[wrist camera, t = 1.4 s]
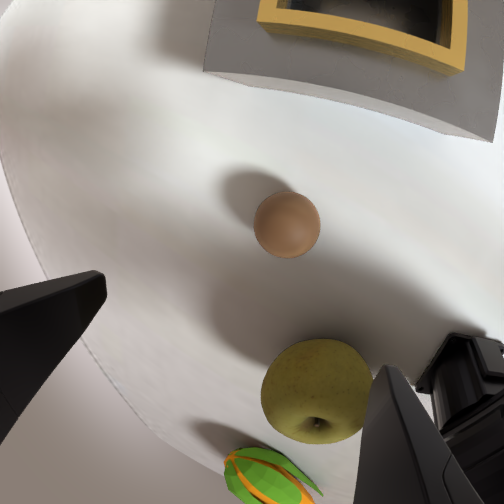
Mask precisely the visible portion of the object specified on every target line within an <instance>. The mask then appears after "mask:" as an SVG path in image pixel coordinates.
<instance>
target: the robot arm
mask: <svg viewBox="0 0 504 504" xmlns="http://www.w3.org/2000/svg"><path fill="white" fill-rule="evenodd" d="M106 298H107V288H106V279H105V276H104V274H103V273H101V272H98V271H96V270H92V271H87V272H83V273H78V274H74V275H69V276H65V277H61V278H56V279H52V280H48V281H44V282H39V283H35V284H31V285H26V286H23V287H18V288H14V289H10V290H5V291H4V292H3V291H1V292H0V445H1V443H2V442H3V440H4V439H5V437H6V436H7V434H8V433H9V431H10V430H11V428H12V427H13V425H14V424H15V423H16V421H17V420H18V417H20V415H21V414H22V412H23V411H24V409H25V408H26V407H27V405H28V404H29V403H30V401H31V400H32V398H33V397H34V396H35V394H36V393H37V392H38V390H39V389H40V388H41V386H42V385H43V383H44V382H45V381H46V380H47V378H48V377H49V376H50V374H51V373H52V372H53V370H54V369H55V368H56V367H57V365H58V364H59V363H60V362H61V360H62V359H63V358H64V357H65V355H66V354H67V352H68V351H69V350H70V349H71V348H72V346H73V345H74V344H75V343H76V342H77V340H78V339H79V338H80V337H81V335H82V334H83V333H84V331H85V330H86V329H87V327H88V326H89V324H90V323H91V321H92V320H93V318H94V317H95V315H96V314H97V312H98V311H99V309H100V308H101V306H102V305H103V304H104V302H105V301H106ZM452 339H454V340H452ZM503 354H504V344H502V343H498V342H496V341H494V340H489V339H485V338H480V337H471V336H466V335H462V334H458V333H451V334H449V335H448V336H447V338H446V339H445V341H444V343H443V344H442V346H441V348H440V349H439V351H438V353H437V354H436V356H435V357H434V359H433V360H432V362H431V363H430V365H429V366H428V368H427V369H426V371H425V372H424V374H423V375H422V377H421V378H420V380H419V381H418V382H417V384H416V385H415V390H416V392H418V393H423V394H430V396H431V402H432V409H433V416H434V423H433V421H432V419H431V418H430V416H429V415H428V413H427V411H426V410H425V408H424V407H423V405H422V403H421V402H420V400H419V399H418V397H417V396H416V394H415V392H414V391H413V389H412V388H411V386H410V385H409V383H408V382H407V380H406V379H405V377H404V376H403V374H402V373H401V371H400V370H399V368H398V367H397V366H393V365H389V364H385V365H383V366H382V368H381V369H380V371H379V373H378V374H377V376H376V377H375V379H374V381H373V382H372V384H371V387H370V392H369V398H368V404H367V409H366V415H365V420H364V425H363V430H362V437H361V447H360V457H359V466H358V474H357V481H356V488H355V495H354V502H353V504H504V358H503V356H502V355H503ZM420 387H421V388H420Z"/></svg>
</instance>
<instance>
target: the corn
mask: <svg viewBox="0 0 504 504" xmlns="http://www.w3.org/2000/svg"><path fill="white" fill-rule="evenodd" d="M224 465H225V472H224V476H225V480H226V483H227V487H228V490H229V491H231V492H232V493H233V494H234V495H235V496H237V497H238V498H239V499H240V500H242V501H243V502H244V503H245V504H315V503H314V501H313V498H312V496H311V495H310V494H309V493H308V492H307V490H306V489H305V488H304V487H303V485H302V484H301V483H300V482H298V481H297V480H296V479H295V478H294V477H293V476H291V475H290V474H289V473H288V472H287V471H289V472H290V473H292V474H293V475H294V476H296V477H297V478H299V479H300V480H302V481H303V482H305V483H306V484H307V485H309V486H310V487H312V488H313V489H314V490H316V491H317V492H318V493H319V494H320V495H321V496H323V494H322V493H321V491H320V490H319V489H318V487H317V486H316V485H315V484H314V483H313V482H311V481H310V480H309V479H308V478H307V477H306V476H305V475H304V474H303V473H302V472H301V471H299V470H298V469H297V468H296V467H295V466H294V465H293V464H292V463H291V462H290V461H289V460H288V459H287V458H286V457H285V456H283V455H281V454H279V453H277V452H275V451H273V450H268V449H263V448H257V447H252V448H239V449H236V450H234V451H232V452H230V454H228V457H227V458H226V459H225V461H224ZM281 466H282V467H281ZM284 468H285V469H286V470H287V471H286V470H285V469H284Z"/></svg>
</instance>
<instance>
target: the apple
mask: <svg viewBox="0 0 504 504" xmlns="http://www.w3.org/2000/svg"><path fill="white" fill-rule="evenodd" d="M372 382H373V378H372V375H371V372H370V370H369V368H368V366H367V364H366V362H365V361H364V359H363V358H362V357H361V355H360V354H359V353H358V352H357V351H356V350H355V349H354V348H352V347H351V346H350V345H348V344H346V343H344V342H341V341H338V340H334V339H312V340H306V341H302V342H299V343H296V344H294V345H292V346H290V347H289V348H287V349H286V350H284V351H283V352H282V353H281V354H280V355H279V356H278V357H277V358H276V359H275V360H274V362H273V363H272V364H271V366H270V367H269V369H268V371H267V373H266V375H265V377H264V380H263V383H262V388H261V404H262V408H263V411H264V414H265V416H266V418H267V420H268V422H269V423H270V424H271V425H272V427H273V428H274V429H275V430H277V431H278V432H280V433H281V434H283V435H285V436H286V437H289V438H291V439H293V440H296V441H299V442H302V443H306V444H330V443H335V442H339V441H342V440H344V439H347V438H349V437H351V436H352V435H354V434H355V433H357V432H358V431H359V430H360V429H361V428H362V427H363V425H364V420H365V415H366V409H367V404H368V398H369V392H370V387H371V384H372Z"/></svg>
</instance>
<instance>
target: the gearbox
mask: <svg viewBox="0 0 504 504" xmlns="http://www.w3.org/2000/svg"><path fill="white" fill-rule="evenodd" d="M503 62H504V5H503V0H216V2H215V6H214V11H213V16H212V21H211V27H210V32H209V37H208V43H207V49H206V55H205V61H204V67H203V72H207V73H210V74H213V75H217V76H220V77H223V78H226V79H229V80H232V81H235V82H238V83H241V84H244V85H247V86H250V87H258V88H266V89H273V90H279V91H286V92H292V93H297V94H303V95H308V96H313V97H318V98H323V99H328V100H332V101H337V102H341V103H345V104H349V105H353V106H357V107H361V108H365V109H369V110H372V111H376V112H379V113H383V114H386V115H390V116H393V117H396V118H399V119H402V120H405V121H409V122H412V123H414V124H417V125H420V126H423V127H426V128H429V129H431V130H434V131H437V132H439V133H442V134H445V135H452V136H458V137H464V138H470V139H475V140H480V141H486V142H490V143H493V139H494V133H495V128H496V122H497V116H498V110H499V103H500V95H501V86H502V76H503Z"/></svg>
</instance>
